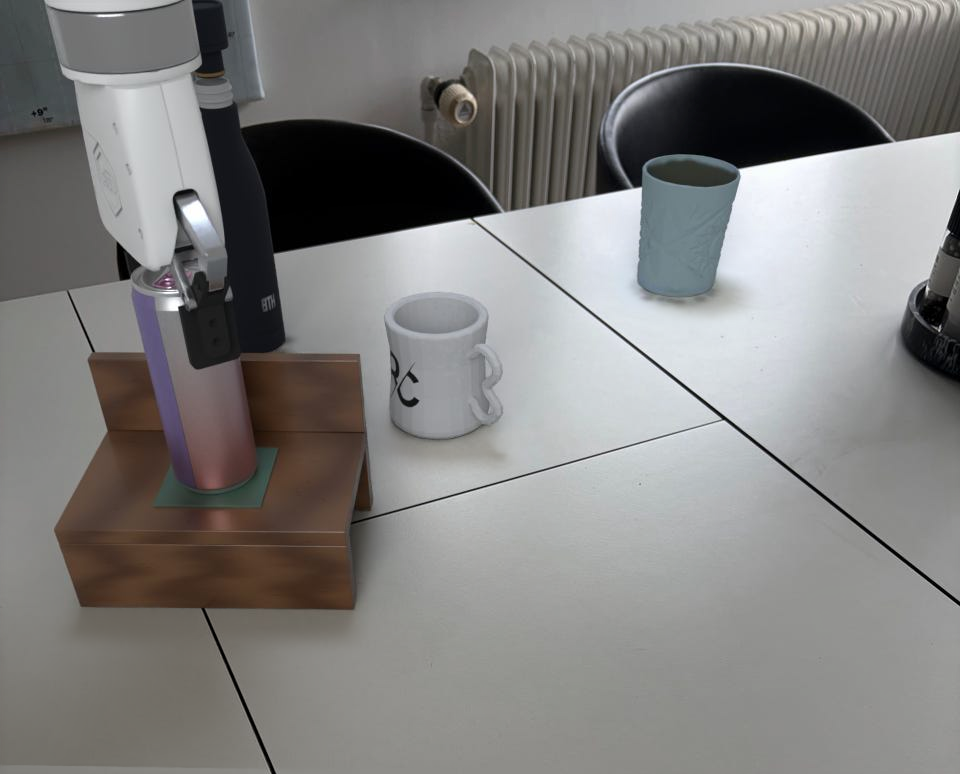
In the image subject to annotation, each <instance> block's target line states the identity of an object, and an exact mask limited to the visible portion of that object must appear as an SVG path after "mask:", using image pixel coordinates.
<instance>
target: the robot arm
mask: <svg viewBox="0 0 960 774" xmlns="http://www.w3.org/2000/svg"><path fill="white" fill-rule="evenodd" d="M43 1H44V7H45V10H46V14H47V18H48V22H49V26H50V30H51V34H52V35H51V36H52V39H53V42H54V46H55V50H56V54H57V58H58V61H59V66H60V70H61V74H62V75H63V76H64V77H65V78H66V79H68V80H71V81H73V83H74V88H75V89H74V91H75V98H76V104H77V109H78V115H79V120H80V121H79V122H80V126H81V131H82V136H83V142H84V147H85V151H86V155H87V156H86V157H87V160H88V165H89V170H90V176H91V180H92V184H93V190H94V194H95V199H96V203H97V204H96V205H97V209H98V213H99V217H100V219H101V222H102V224H103V226H104V228H105V229H106V230H107V232H108V233H109V234H110V235H111V236H112V237H113V239H115V240H116V242H117V243H119V245H120V246H121V247H122V248H123V249H124V251H123V253H124V258H125V262H126V267H127V270H128V275H129V279H130V280H131V275H132V273H133V272H134V271H135V270H136V269H137V268H138V267H140V266H141V265H142V266H144V267H145V268H147V269H149V270H151V271H153V272H156V271H159V270H160V269H161V266H166V265H168V267H169V269H170V272H171V274H172V277H173V279H174V282H175V284H176V287H177V289H178V292H179V294H180V297H181V299H182V302H183V304H184V305H182V306H178V310H179V315H180V320H181V325H182V329H183V334H184V339H185V344H186V348H187V353H188V358H189V362H190V364H191V365H192V367H193V368H194V369H196V370H200V369H203V368H207V367H211V366H214V365H218V364H221V363H225V362H229V361H232V360H236V359H238V358H239V357H240V355H241V350H240V344H239V338H238V332H237V326H236V321H235V315H234V309H233V303H232V299H233V295H232V290H231V287H230V281H231V278H229V276H228V275H230V274H229V272H228V271H227V252H226V249H225V240H224V229H223V221H222V214H221V208H220V202H219V197H218V191H217V186H216V181H215V176H214V171H213V166H212V161H211V157H210V152H209V148H208V143H207V138H206V134H205V130H204V125H203V121H202V117H201V116H202V115H201V112H200V109H199V105H198V101H197V97H196V93H195V89H194V81H193V77H192V74H191V73H194V71H195V70H196V69H198V68H199V67H200V66H201V64H202V60H201V54H200V48H199V42H198V36H197V30H196V24H195V18H194V12H193V6H192V0H43ZM187 246H192V247H193V249H189V250H184V251H180V252H176V249H179V248H184V247H187ZM196 265H198V266H199V268H200V272H196V273H195V274H194V278H193V281H192V285H191V284H190V282H189V279H188V277H187V274H186V272H185V269H184V268H187V267H192V266H196Z"/></svg>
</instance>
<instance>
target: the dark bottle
mask: <svg viewBox="0 0 960 774" xmlns="http://www.w3.org/2000/svg"><path fill="white" fill-rule="evenodd" d="M192 6H193V12H194V18H195V24H196V30H197V36H198V42H199V48H200V54H201V60H202V64H201V66H200V67H199V68H198V69H196V70H195V71H193V73H194V75H195V76H196V78H197V79H195V80H194V81H193V85H194V89H195V93H196V97H197V101H198V105H199V109H200V112H201V115H202V116H201V117H202V121H203V125H204V130H205V134H206V138H207V143H208V148H209V152H210V157H211V161H212V166H213V171H214V176H215V181H216V186H217V191H218V197H219V202H220V208H221V214H222V221H223V229H224V240H225V249H226V252H227V271H228V272H229V274H230V275H228V276H229V278H231V281H230V287H231V290H232V295H233V299H232V303H233V309H234V315H235V321H236V326H237V332H238V338H239V344H240V350H241V353H270V352H271V351H274V350H276V349H277V348H280V347H281V346H282V345H283V344H284V343H285V341H286V331H285V322H284V316H283V308H282V303H281V302H282V301H281V295H280V289H279V281H278V274H277V267H276V261H275V260H276V259H275V253H274V245H273V239H272V232H271V226H270V225H271V224H270V218H269V211H268V205H267V203H268V202H267V197H266V191H265V188H264V184H263V181H262V178H261V176H260V173H259V170H258V168H257V164H256V162H255V160H254V158H253V156H252V154H251V151H250V150H249V147H248V145H247V143H246V140H245V139H244V137H243V135H242V128H241V121H240V115H239V114H240V113H239V108H238V104H237V102H236V101H235V100H233V98H234V94H233V93H232V89H233V86H232V85H231V83H230V79H228V78H227V77H225V76H224V75H225V74H226V73H227V71H226V68H225V63H224V59H223V52H222V51H224V50H226V49H228V48H229V38H228V31H227V25H226V24H227V23H226V18H225V12H224V5H223V3H222V2H221V1H220V0H192Z"/></svg>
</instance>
